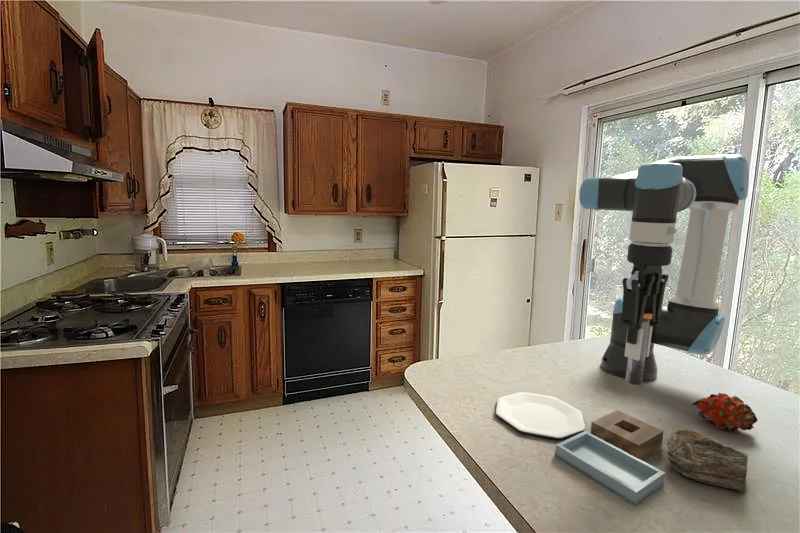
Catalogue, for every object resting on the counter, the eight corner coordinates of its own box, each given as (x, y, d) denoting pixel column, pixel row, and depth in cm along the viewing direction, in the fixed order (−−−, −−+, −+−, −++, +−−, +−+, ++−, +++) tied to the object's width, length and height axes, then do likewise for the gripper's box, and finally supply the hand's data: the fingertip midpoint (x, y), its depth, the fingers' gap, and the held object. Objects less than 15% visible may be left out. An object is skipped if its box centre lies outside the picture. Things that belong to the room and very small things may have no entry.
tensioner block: (589, 438, 91) (591, 421, 90) (615, 426, 96) (617, 410, 95) (636, 463, 82) (638, 445, 82) (661, 448, 88) (663, 430, 87)
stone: (651, 453, 80) (675, 410, 82) (659, 469, 86) (681, 428, 89) (736, 500, 70) (760, 449, 72) (738, 515, 76) (761, 467, 78)
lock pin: (620, 380, 88) (628, 311, 85) (629, 376, 90) (637, 309, 87) (637, 387, 85) (646, 316, 82) (646, 382, 87) (655, 313, 84)
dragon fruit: (758, 447, 92) (693, 431, 101) (762, 414, 96) (700, 402, 105) (753, 424, 88) (686, 410, 97) (758, 392, 93) (694, 381, 102)
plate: (539, 451, 86) (540, 444, 86) (479, 407, 103) (480, 402, 103) (602, 429, 95) (602, 423, 95) (537, 392, 113) (538, 387, 112)
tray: (554, 456, 84) (555, 444, 84) (584, 441, 89) (585, 430, 89) (634, 505, 71) (636, 492, 70) (663, 485, 76) (665, 472, 76)
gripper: (649, 248, 75) (634, 371, 79) (690, 243, 83) (674, 354, 87) (609, 243, 81) (597, 357, 85) (651, 240, 89) (638, 343, 94)
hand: (636, 356), depth 86 cm, fingers closed on lock pin, 3 cm apart
